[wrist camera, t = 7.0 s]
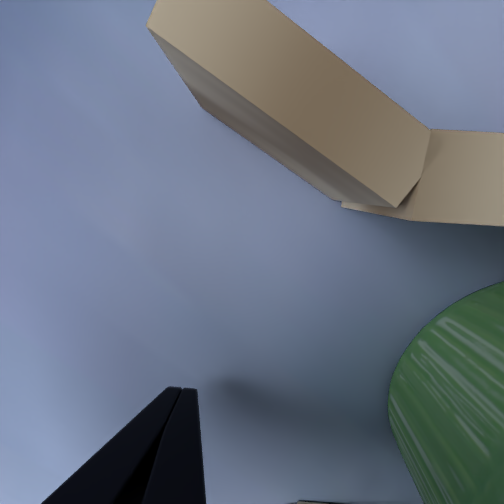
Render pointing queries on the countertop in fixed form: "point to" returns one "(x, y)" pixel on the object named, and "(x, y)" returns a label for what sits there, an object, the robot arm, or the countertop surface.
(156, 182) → the countertop surface
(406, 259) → the countertop surface
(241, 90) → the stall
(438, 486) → the ramekin
